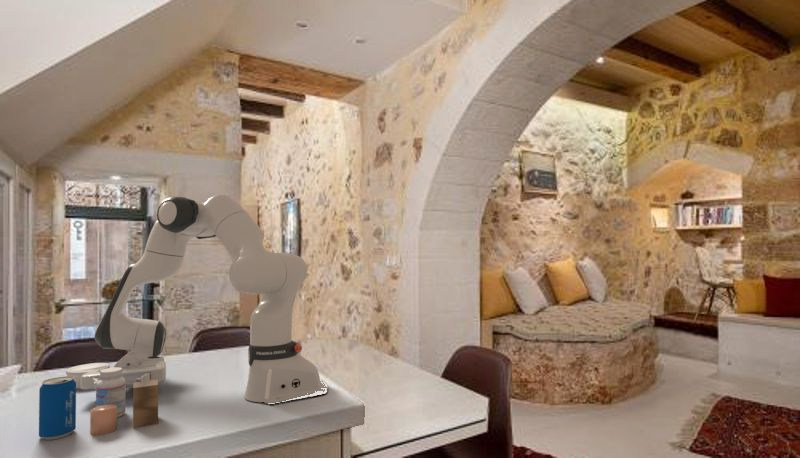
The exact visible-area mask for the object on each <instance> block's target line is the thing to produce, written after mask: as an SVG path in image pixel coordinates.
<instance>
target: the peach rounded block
mask: <svg viewBox="0 0 800 458" xmlns="http://www.w3.org/2000/svg"><path fill="white" fill-rule="evenodd" d="M89 412H90V414H89V415H90V417H89V418H90V419H89V421H90V423H89V425H90V426H89V428H90V429H89V435H91V436H103V435H109V434H110V433H113V432H115V431H116V430H118V429H117V428H118V425H117V423H118V417H117V405H112V404H111V405H102V406H98V407H96V406H95V407H93V408H90V411H89Z"/></svg>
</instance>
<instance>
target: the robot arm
mask: <svg viewBox="0 0 800 458" xmlns="http://www.w3.org/2000/svg"><path fill="white" fill-rule="evenodd" d="M215 237H216V238H217V239H218V240H219V242H220V243H221V244H222V246H223V247H224V248H225V250H226V252H228V254H229V256H230V258H231V262H232V263H231V265H230V267H229V270H228V278H229V279H228V280H229V282H230V286H231V287H232V288H233V290H234V291H237V292H238V293H241V294H247V295H255V296H256V295H261V298H260V301H259V303H258V305H257V306H256V307H255V309H253V311H252V312H251V314H250V318H249V319H250V320H249V321H250V322H249V323H250V329H249V332H250V333H249V338H250V340H249V341H250V342H249V344H248V349H247V356H248V357H247V359H248V361H247V362H248V365H249V368H248V378H247V384H246V388H245V389H246V390H245V392H244V395H243V397H244V399H245V400H247V401H250V402H255V403H262V402H265V403H264V404H266V403H276V402H282V401H286V400H289V399H293V398H297V397H301V396H305V395H310V394H313V393H315V391H316V392H317V391H323V392H324V391H325V389H324V390H323V389H321V388H327V387H326V386H325V384H324V383H323V384H324V385H323V384H322V383H321V381H320V380H321V379H320V378H321V377H320V374H319V370H318V367H317V366H316V364H314V363H313V362H311V361H310V360H309V359H308V358H305V357H304V356H302V355H301V354H300V353H301V352H302V351H303V347H302V344H300V343H298V342H296V341H294V340H293V338H292V335H293V334H292V331H293V330H292V328H293V327H292V325H293V322H292V321H293V311H294V310H293V309H294V305H295V302H296V297H297V295H298V292H299V290H300V287H301V286H302V284H304V282H305V281H306V279H307V277H308V267H307V263H306V261H305V260H304V258H302V257H301V256H299V255H296V254H293V253H290V252H271V251H269V250H267V249H266V248H265V246H264V245H263V243H264V238H265V237H264V231H263V230H262V228H261V227H260V226H259V225H258V224H257V222H256V221H255V220H254V219H253V218H252V217H251V215H250V214H249V213H248V212H247V211H246V210H245V209H244V207H242V206H241V204H240V203H238V202H237V201H236V200H235V199H234V198H232V197H231V196H230V195H227V194H223V193H219V194H215V195H213V196H211V197H209V198H208V199H207V200H206V201H202V200H200V199H194V198H187V197H183V196H169V197H166V198H165V199H163V200H162V201H161V202H160V204H159V206H158V208H157V211H156V221H155V223H154V225H153V226H152V228H151V229H150V233H149V236H148V238H147V241H146V243H145V244H146V245H145V248H144V251H143V253H142V256H141V258H140V259H139V260H138V261H137V262H136V263H132V264H130V265H129V266H128V267H127V268H126V270H125V272H124V273H123V275H122V277H121V279H120V281H119V283H118V285H117V287H116V289H115V291H114V293H113V295H112V298H111V300H110V302H109V304H108V306H107V308H106V311H105V313H104V315H103V316H102V318H101V320H100V321H99V323H98V325H97V326H96V328H95V332H94V340H95V342H96V343H97V345H98V346H99V347H100V348H102V349H103V350H104V349H105V350H124V351H125V350H126V351H129V352H127V353H126V354H125V355H124V356H122V357H121V358H120V359H119V360H117V362H116V363H115V364H114V365H113V367H112V368H114V367H120V368H122V375H121V377H123V378H124V379H125V383H126V385H125V389H126V388H133V386H134V383H136V382H143V381H150V380H157V379H158V383H159V382H163V381H164V382H165V381H166V380H167V363H166V361H165V357H163V356H160V355H161V354H162V351H163V349H164V347H165V342H166V336H167V330H166V328H165V326H164V324H163V323H162V322H161V321H160V320H155V319H148V318H138V317H132V316H131V317H130V316H126V315H124V314H123V313H124V311H125V308H126V306H127V303H128V302H129V301H130V300H129V299H130V297H131V295H132V293H133V291H134V290H135V289H136V288H137V287H140V286H142V285H147V284H153V283H159V282H162V281H166V280H169V279H171V278H173V277H175V276H176V275H177V274H178V273H179V272H180V270H181V268H182V264H183V263H184V262H183V261H184V258H185V253H186V249H187V244H189V243H188V242H189V241H190V240H191V239H193V238H196V239H197V240H203V239H211V238H215ZM106 369H107V368H106ZM101 370H103V369H97V370H92V371H89V372H87V373H85V374H83V375H82V376H81V378H80V388H81V389H82V390H91V389H94V390H96V385H97V382H98V381H99V380H101V378H100V371H101ZM324 386H325V387H324ZM81 389H80V390H81ZM307 393H308V394H307Z"/></svg>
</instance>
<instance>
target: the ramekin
mask: <svg viewBox="0 0 800 458" xmlns="http://www.w3.org/2000/svg"><path fill="white" fill-rule="evenodd" d="M106 368H111V364H110V363H108V362H93V363H92V362H91V363H85V364H80V365H75V366H72V367H70V368H67V369H66V370H65V375H66V376H71V377H74V381H75V382H76V390H77V389H78V390H81V388H80V378H81V376H82V375H83V374H85V373H87V372H89V371H92V370H97V369H106Z"/></svg>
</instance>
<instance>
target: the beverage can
mask: <svg viewBox="0 0 800 458" xmlns="http://www.w3.org/2000/svg"><path fill="white" fill-rule="evenodd" d="M38 396H39V398H38V399H39V401H38V402H39V403H38V406H39V407H38V410H39V411H38V437H39V438H42V439H43V440H45V441H48V440H49V441H51V440H52V441H53V440H59V439H63V438H65V437H67V436H69V435H70V434H72V432H74V431H76V427H77V426H76V424H77V420H76V419H77V416H76V415H77V389H76V382H75V381H74V377H71V376H67V375H66V376H65V375H64V376H58V377H51V378H49V379H44V380H43V381H42V382H41V386H40V387H39V395H38Z"/></svg>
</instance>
